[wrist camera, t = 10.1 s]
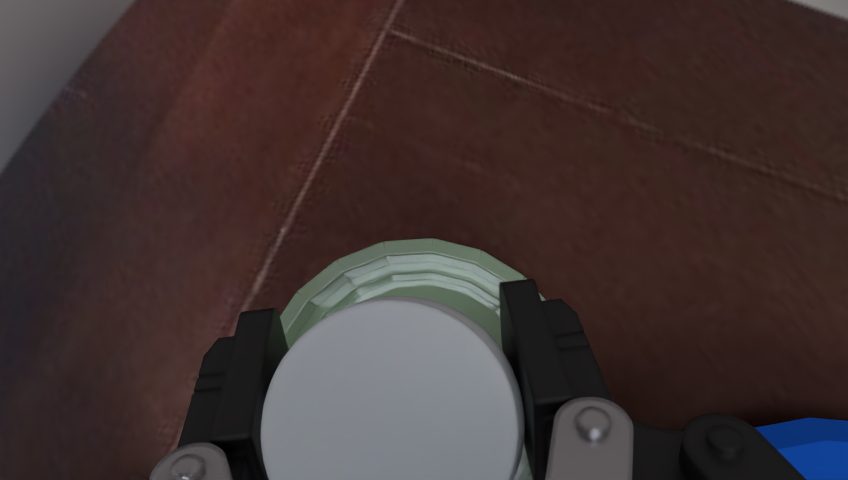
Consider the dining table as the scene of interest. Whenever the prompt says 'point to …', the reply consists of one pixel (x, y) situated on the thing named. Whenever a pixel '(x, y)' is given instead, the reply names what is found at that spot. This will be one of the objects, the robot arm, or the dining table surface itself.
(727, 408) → the dining table surface
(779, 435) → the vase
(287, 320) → the bowl
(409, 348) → the pill bottle
